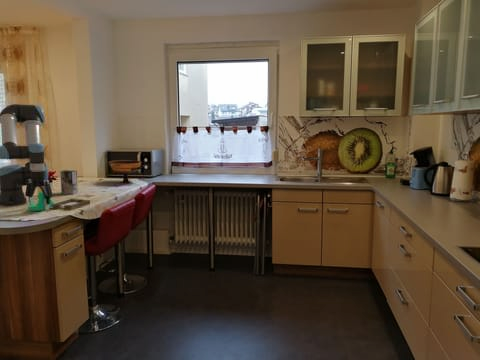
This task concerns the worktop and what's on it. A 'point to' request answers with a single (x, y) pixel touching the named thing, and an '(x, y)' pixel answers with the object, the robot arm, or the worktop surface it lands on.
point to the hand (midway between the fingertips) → (39, 208)
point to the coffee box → (69, 182)
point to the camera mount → (40, 203)
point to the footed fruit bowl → (125, 168)
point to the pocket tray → (71, 204)
